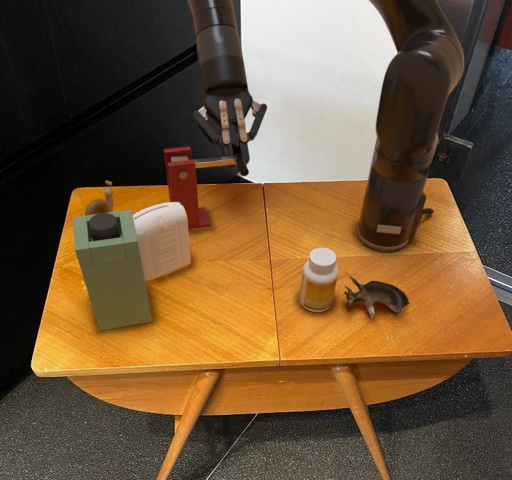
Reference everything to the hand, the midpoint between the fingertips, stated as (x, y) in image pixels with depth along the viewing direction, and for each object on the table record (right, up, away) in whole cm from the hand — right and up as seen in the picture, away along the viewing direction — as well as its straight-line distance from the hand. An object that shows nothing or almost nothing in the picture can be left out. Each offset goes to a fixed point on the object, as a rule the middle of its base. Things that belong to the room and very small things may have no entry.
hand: (238, 166), depth 94 cm
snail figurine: (-22, -14, +1) cm, 26 cm away
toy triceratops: (+21, -25, -7) cm, 34 cm away
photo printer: (-13, -18, -2) cm, 22 cm away
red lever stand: (-10, -9, +5) cm, 14 cm away
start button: (-17, -16, -19) cm, 31 cm away
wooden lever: (-5, -1, -2) cm, 6 cm away
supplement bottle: (+13, -24, -6) cm, 28 cm away
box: (-18, -25, -9) cm, 32 cm away
